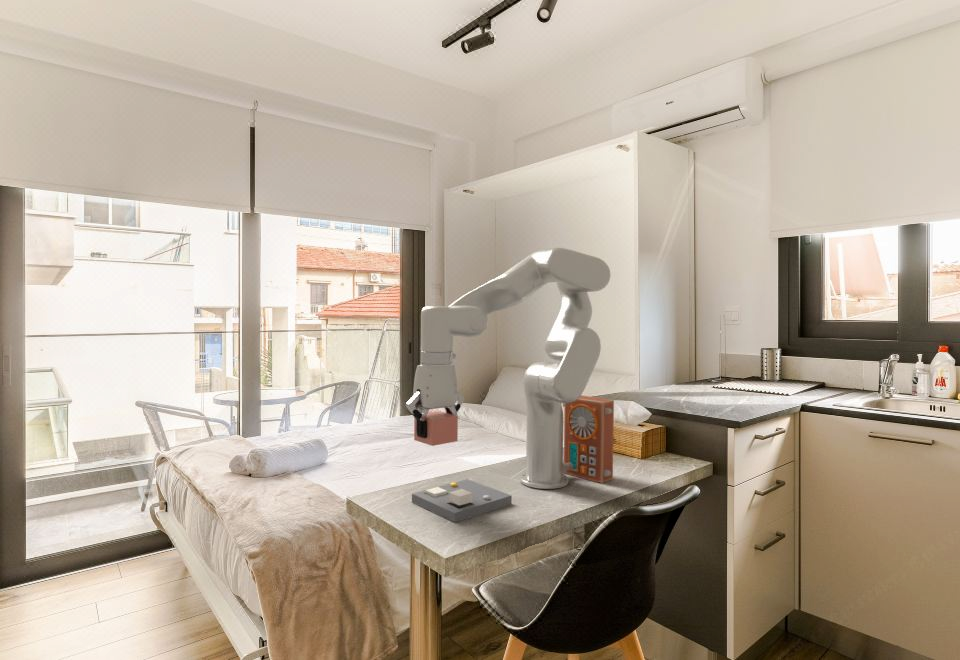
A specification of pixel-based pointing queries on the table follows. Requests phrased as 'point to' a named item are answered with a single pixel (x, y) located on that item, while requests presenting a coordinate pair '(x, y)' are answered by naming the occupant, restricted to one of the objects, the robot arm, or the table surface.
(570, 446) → the control panel
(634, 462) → the table surface
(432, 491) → the block
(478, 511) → the board
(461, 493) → the block
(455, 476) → the table surface
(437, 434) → the cap
